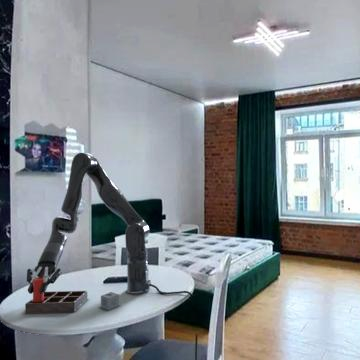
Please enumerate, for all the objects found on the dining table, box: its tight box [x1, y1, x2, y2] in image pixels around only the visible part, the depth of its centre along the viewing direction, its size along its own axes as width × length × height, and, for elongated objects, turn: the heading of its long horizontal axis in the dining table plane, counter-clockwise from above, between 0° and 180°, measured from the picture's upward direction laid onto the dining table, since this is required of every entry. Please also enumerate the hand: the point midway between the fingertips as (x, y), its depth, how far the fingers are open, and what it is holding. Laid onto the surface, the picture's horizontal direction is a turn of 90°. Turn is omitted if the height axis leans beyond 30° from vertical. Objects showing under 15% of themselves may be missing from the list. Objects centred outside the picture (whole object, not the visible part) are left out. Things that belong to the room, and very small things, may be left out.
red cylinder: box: [32, 277, 44, 302], centre depth 127 cm, size 4×4×9 cm
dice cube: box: [100, 291, 120, 311], centre depth 130 cm, size 5×5×5 cm
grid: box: [24, 290, 88, 314], centre depth 131 cm, size 19×13×4 cm
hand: (35, 292), depth 125 cm, fingers closed on red cylinder, 3 cm apart
